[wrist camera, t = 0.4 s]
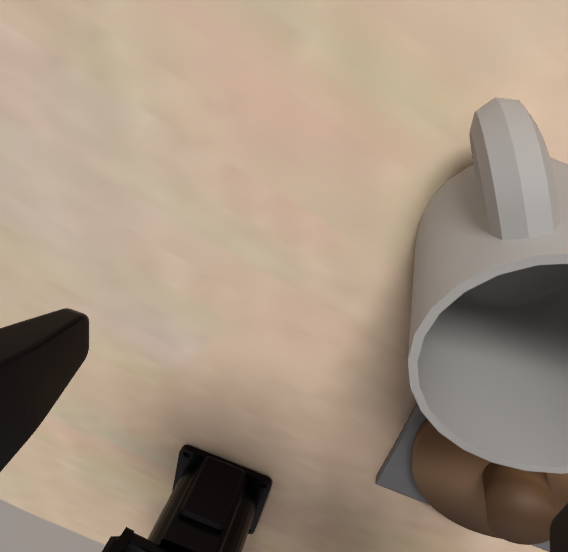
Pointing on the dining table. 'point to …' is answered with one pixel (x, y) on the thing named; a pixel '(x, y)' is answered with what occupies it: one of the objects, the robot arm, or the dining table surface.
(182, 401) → the dining table surface
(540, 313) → the cup
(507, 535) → the lid
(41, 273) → the dining table surface
